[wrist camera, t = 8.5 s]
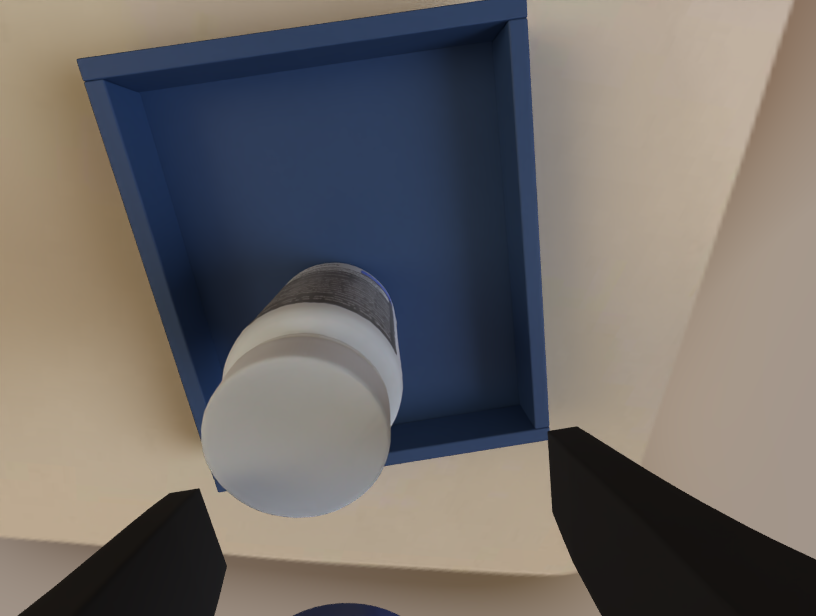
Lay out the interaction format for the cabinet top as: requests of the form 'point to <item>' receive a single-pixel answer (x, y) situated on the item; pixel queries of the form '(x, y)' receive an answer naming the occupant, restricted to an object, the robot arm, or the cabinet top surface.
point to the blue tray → (347, 200)
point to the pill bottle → (308, 396)
